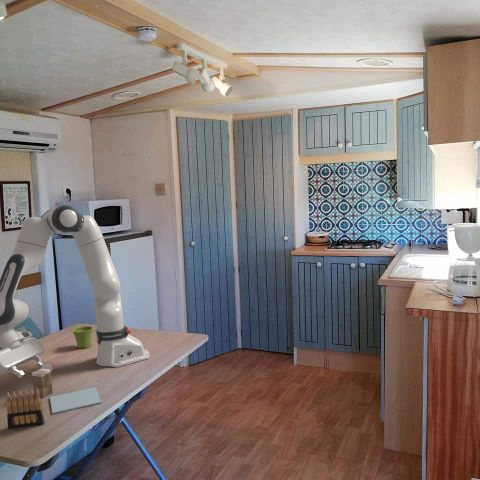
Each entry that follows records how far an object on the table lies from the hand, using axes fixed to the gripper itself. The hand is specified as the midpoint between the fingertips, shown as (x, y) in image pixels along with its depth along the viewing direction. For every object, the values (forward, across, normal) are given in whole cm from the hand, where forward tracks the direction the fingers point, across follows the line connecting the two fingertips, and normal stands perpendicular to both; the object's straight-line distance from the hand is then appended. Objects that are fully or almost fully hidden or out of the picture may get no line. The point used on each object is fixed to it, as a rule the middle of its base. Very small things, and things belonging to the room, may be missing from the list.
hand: (32, 371), depth 182 cm
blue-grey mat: (+20, -1, -8) cm, 22 cm away
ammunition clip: (+18, -20, -5) cm, 28 cm away
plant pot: (-5, +49, +18) cm, 52 cm away
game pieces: (0, +15, +13) cm, 20 cm away
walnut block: (+9, 0, +3) cm, 10 cm away
